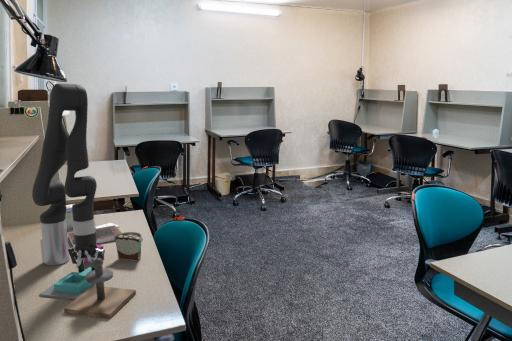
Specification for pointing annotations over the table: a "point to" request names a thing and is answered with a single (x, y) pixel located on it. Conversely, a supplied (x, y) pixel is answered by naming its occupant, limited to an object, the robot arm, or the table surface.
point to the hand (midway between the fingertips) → (88, 274)
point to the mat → (62, 293)
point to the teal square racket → (68, 286)
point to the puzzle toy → (96, 253)
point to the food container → (129, 246)
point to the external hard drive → (107, 225)
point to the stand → (100, 295)
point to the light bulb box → (69, 216)
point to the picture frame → (101, 234)
